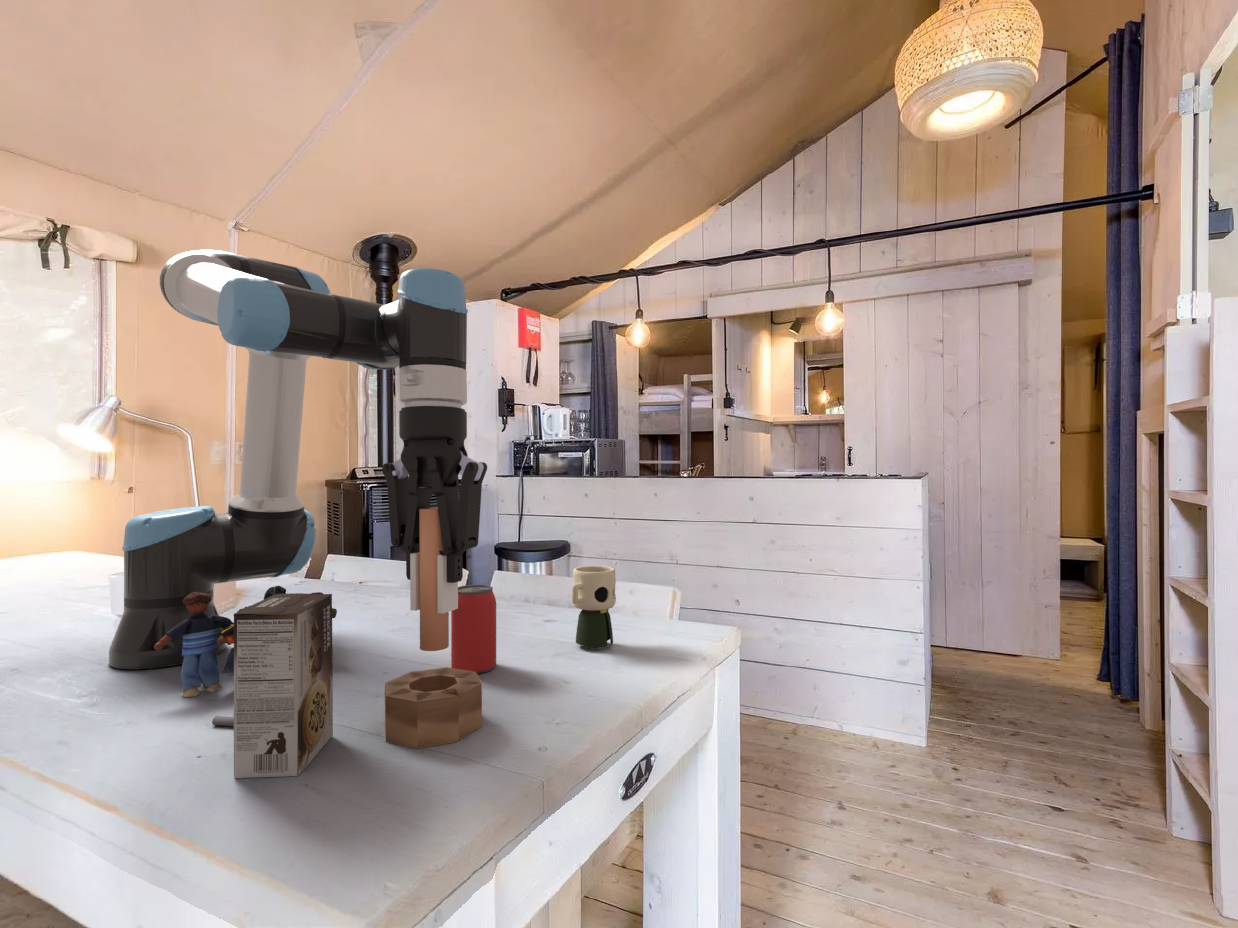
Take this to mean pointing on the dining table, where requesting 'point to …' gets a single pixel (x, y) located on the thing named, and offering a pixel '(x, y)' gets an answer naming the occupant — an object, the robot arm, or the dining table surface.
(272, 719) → the coffee box
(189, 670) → the doll family
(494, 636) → the beer can
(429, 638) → the peach rounded rod
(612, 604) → the character mug
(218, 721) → the grey thin rod
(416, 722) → the bead
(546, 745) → the dining table surface
